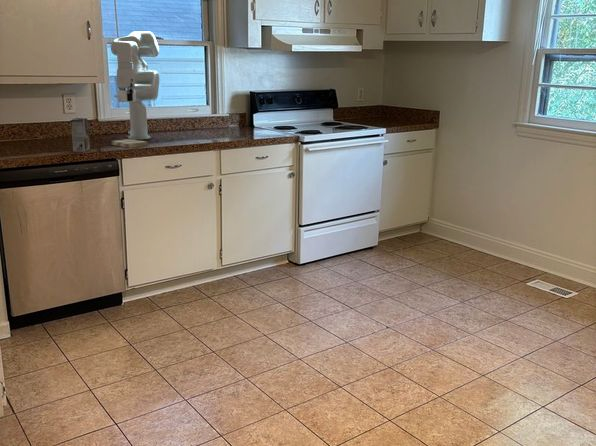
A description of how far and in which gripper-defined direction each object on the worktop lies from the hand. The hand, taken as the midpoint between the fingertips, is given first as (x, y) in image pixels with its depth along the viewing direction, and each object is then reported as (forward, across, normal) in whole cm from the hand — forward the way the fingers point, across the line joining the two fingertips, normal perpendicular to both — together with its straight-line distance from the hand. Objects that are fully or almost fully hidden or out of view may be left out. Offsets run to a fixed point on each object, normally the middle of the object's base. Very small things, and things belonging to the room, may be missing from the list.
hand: (127, 100), depth 326 cm
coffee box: (+25, -3, -28) cm, 37 cm away
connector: (+1, 0, 0) cm, 1 cm away
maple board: (+24, 0, 0) cm, 24 cm away
